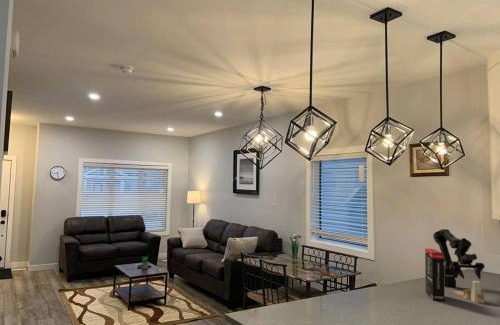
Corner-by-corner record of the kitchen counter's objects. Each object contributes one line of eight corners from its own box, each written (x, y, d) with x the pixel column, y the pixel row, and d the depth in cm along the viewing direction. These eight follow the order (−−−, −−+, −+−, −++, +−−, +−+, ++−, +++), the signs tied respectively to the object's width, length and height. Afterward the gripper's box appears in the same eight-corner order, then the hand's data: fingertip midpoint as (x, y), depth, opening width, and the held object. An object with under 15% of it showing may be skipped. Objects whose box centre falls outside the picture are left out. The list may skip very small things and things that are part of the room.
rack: (461, 296, 221) (461, 287, 222) (475, 297, 221) (475, 288, 221) (473, 302, 208) (473, 293, 209) (488, 303, 208) (487, 294, 208)
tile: (451, 291, 233) (451, 290, 233) (466, 292, 232) (466, 291, 232) (458, 295, 224) (458, 294, 224) (474, 296, 223) (474, 295, 223)
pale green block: (471, 299, 215) (470, 280, 216) (477, 299, 215) (477, 280, 216) (474, 301, 211) (474, 282, 212) (481, 301, 211) (480, 282, 212)
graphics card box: (445, 301, 208) (445, 253, 210) (432, 300, 209) (432, 252, 212) (436, 294, 225) (436, 248, 227) (424, 292, 226) (424, 248, 228)
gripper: (451, 248, 225) (460, 269, 213) (482, 249, 224) (493, 271, 212) (445, 258, 233) (453, 280, 221) (475, 260, 231) (486, 282, 219)
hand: (471, 278), depth 218 cm, fingers open, 9 cm apart
